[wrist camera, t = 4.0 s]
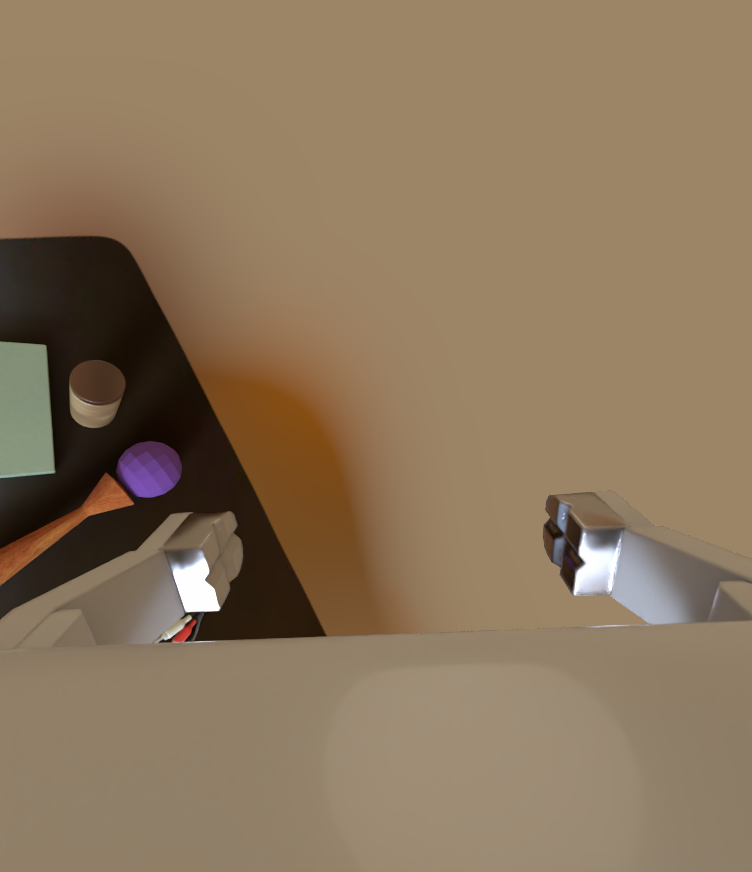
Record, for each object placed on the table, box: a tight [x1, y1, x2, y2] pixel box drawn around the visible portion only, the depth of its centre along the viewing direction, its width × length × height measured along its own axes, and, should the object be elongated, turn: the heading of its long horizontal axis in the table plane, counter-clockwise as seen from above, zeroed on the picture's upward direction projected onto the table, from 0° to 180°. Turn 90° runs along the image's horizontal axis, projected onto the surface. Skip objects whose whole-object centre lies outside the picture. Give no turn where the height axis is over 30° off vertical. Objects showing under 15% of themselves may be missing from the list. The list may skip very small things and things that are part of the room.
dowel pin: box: [70, 360, 126, 428], centre depth 37 cm, size 4×4×10 cm
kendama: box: [0, 441, 182, 585], centre depth 36 cm, size 6×6×20 cm
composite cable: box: [154, 611, 205, 643], centre depth 42 cm, size 10×5×2 cm, turn 131°
